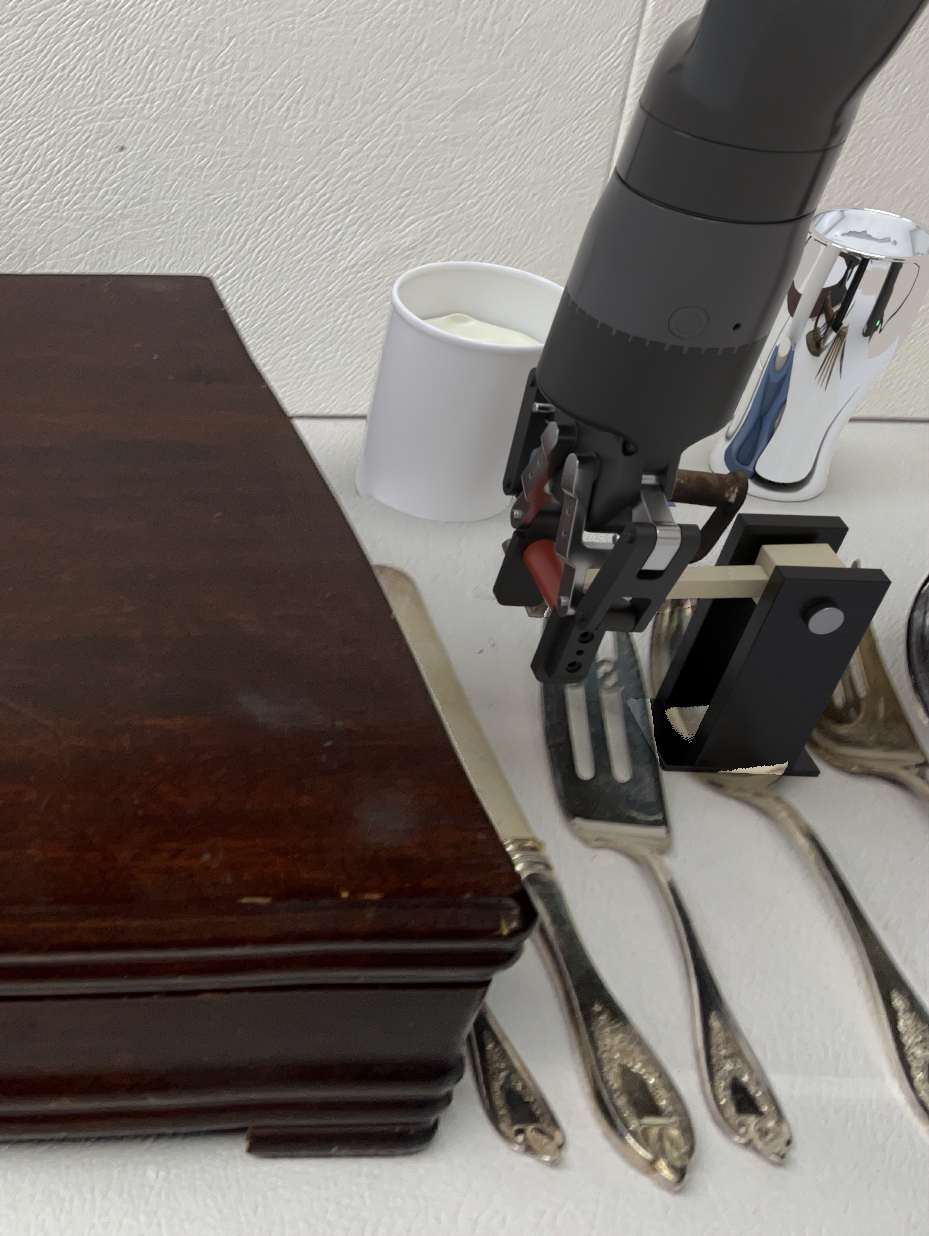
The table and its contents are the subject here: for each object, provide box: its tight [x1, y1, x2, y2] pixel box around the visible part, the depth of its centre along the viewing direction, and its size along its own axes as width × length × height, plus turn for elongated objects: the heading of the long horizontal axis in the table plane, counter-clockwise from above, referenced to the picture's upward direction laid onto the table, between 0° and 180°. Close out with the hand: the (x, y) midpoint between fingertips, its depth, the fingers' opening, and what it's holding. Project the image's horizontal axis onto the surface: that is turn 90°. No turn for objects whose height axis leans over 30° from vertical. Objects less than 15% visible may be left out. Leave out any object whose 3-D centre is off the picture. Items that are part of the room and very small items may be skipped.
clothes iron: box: [501, 468, 749, 619], centre depth 91 cm, size 7×11×10 cm, turn 84°
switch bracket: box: [649, 512, 893, 778], centre depth 80 cm, size 7×6×12 cm
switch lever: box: [523, 539, 847, 612], centre depth 78 cm, size 12×5×2 cm, turn 87°
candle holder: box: [354, 260, 565, 524], centre depth 97 cm, size 10×10×12 cm
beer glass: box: [708, 204, 929, 503], centre depth 98 cm, size 7×7×15 cm
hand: (535, 637), depth 80 cm, fingers closed on switch lever, 5 cm apart
